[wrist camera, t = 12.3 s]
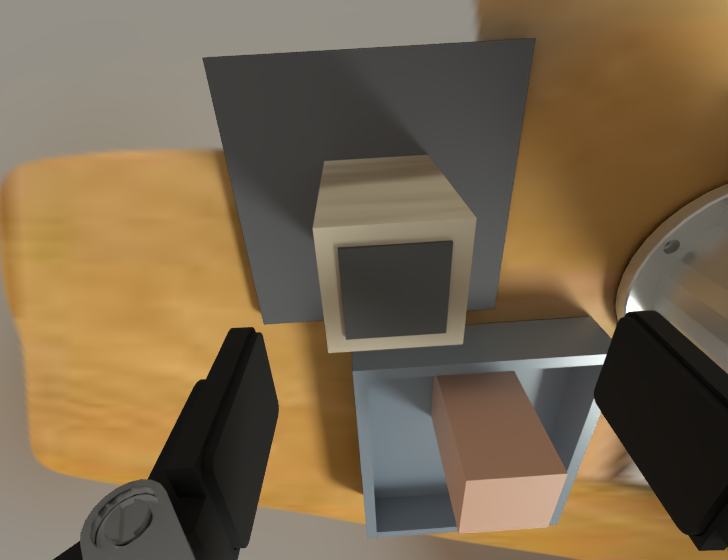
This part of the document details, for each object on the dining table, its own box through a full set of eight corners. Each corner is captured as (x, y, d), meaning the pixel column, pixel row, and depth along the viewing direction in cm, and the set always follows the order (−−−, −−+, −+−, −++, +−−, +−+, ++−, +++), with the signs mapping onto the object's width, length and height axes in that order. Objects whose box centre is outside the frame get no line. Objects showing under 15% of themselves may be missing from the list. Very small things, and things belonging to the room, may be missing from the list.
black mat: (208, 57, 17) (202, 57, 16) (527, 38, 17) (535, 38, 16) (266, 316, 24) (263, 324, 23) (490, 301, 24) (494, 309, 24)
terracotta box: (433, 365, 26) (466, 481, 19) (508, 360, 26) (568, 473, 19) (431, 416, 28) (458, 533, 22) (499, 411, 28) (548, 527, 22)
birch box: (324, 161, 19) (312, 230, 12) (428, 154, 19) (478, 220, 12) (333, 253, 21) (328, 355, 14) (424, 248, 21) (464, 346, 14)
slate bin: (351, 332, 25) (352, 371, 22) (591, 316, 25) (624, 352, 22) (365, 495, 35) (367, 538, 32) (538, 483, 35) (556, 524, 32)
